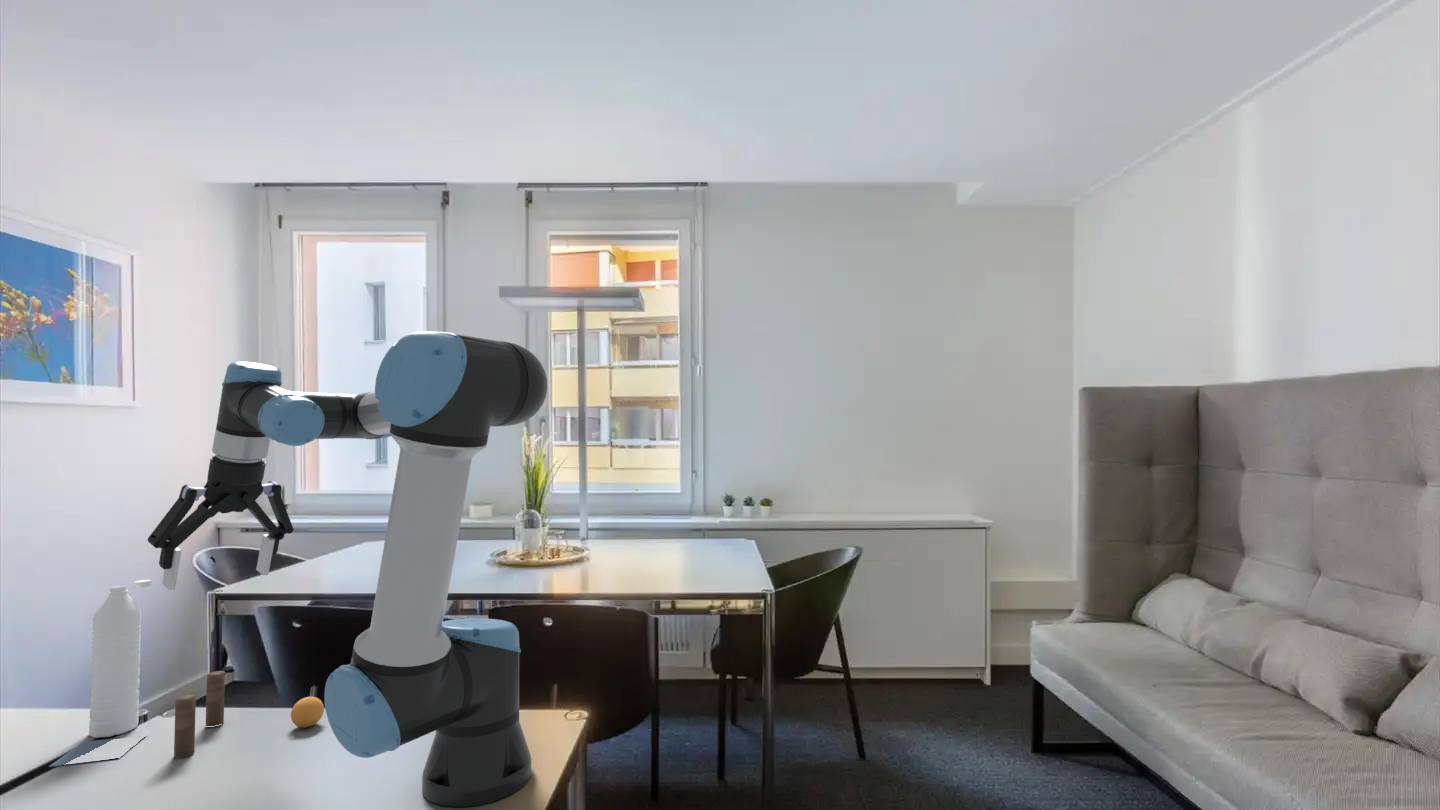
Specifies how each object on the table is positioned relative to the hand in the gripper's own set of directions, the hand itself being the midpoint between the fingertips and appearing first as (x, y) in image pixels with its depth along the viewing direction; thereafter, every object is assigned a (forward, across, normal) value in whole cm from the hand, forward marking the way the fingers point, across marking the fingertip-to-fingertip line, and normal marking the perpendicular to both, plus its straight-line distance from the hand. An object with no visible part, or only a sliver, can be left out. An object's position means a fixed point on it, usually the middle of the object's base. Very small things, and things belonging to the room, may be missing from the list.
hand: (217, 579), depth 114 cm
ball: (+22, -13, +12) cm, 28 cm away
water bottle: (+33, +4, -15) cm, 37 cm away
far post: (+29, -5, -2) cm, 30 cm away
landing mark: (+30, +10, -7) cm, 33 cm away
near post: (+27, +3, +6) cm, 28 cm away
